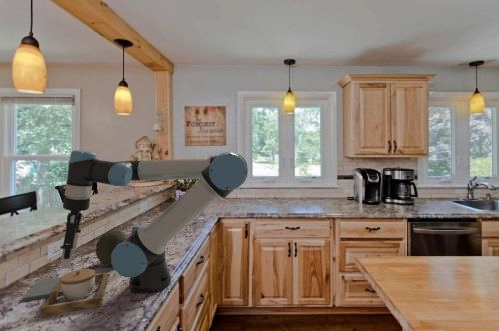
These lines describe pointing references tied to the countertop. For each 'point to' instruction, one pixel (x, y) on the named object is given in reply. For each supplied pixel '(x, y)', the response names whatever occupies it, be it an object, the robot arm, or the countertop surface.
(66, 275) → the lidded jar
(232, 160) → the robot arm
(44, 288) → the trivet
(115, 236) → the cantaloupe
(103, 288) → the pocket frame
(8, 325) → the countertop surface
